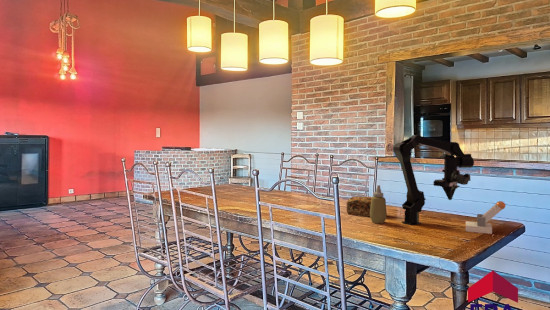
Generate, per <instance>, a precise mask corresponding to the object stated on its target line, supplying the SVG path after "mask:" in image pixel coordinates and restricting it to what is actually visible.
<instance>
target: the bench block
mask: <svg viewBox="0 0 550 310" xmlns="http://www.w3.org/2000/svg"><path fill="white" fill-rule="evenodd" d="M482 215H484V213H482V214H480V213H478V214H476V221H467V220H465V232H469V233H479V234H489V235H490V234H491V235H492V234H493V225H492V223H490V222H489V223H488V222H487V223H486V224H485V217H481V216H482Z"/></svg>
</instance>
